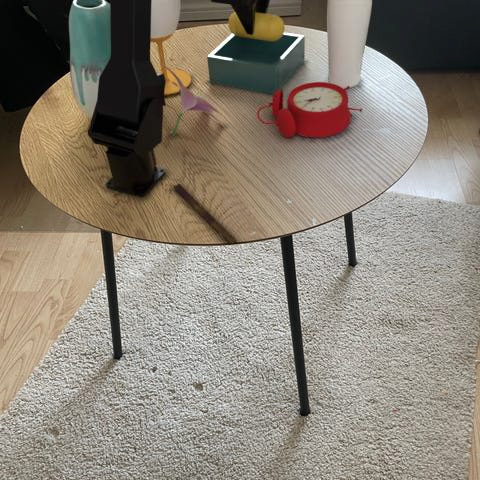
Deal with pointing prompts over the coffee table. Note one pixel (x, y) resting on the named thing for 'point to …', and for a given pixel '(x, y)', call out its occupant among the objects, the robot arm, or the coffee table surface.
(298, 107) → the alarm clock
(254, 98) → the coffee table surface
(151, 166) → the robot arm
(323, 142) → the coffee table surface
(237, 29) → the yellow capsule cylinder
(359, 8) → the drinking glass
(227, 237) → the dark brown stick
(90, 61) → the vase
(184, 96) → the lily
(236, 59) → the open box
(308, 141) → the coffee table surface
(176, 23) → the cup
